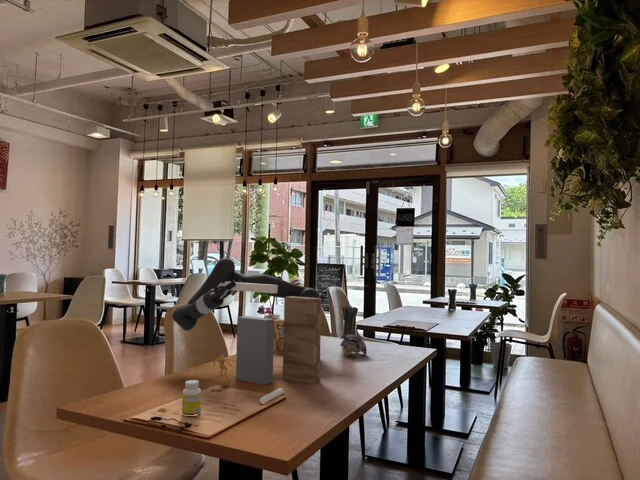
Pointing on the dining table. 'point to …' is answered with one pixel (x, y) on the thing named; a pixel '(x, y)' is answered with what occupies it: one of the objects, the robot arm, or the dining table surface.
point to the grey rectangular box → (255, 349)
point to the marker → (271, 395)
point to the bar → (254, 287)
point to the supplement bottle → (191, 398)
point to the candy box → (278, 334)
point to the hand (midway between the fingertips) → (237, 282)
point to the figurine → (224, 379)
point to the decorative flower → (353, 344)
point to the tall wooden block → (302, 339)
